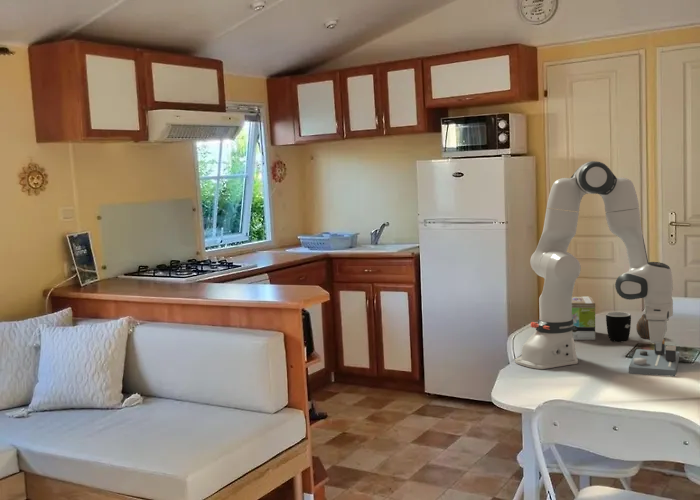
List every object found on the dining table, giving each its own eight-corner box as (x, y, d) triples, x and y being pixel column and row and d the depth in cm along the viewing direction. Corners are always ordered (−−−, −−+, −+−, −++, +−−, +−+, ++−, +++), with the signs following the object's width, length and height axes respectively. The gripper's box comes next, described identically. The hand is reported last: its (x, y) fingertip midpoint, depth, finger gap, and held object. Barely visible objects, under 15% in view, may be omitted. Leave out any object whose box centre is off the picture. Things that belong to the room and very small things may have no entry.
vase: (658, 338, 290) (658, 316, 289) (640, 339, 290) (640, 316, 289) (651, 334, 297) (651, 312, 296) (633, 335, 297) (633, 313, 296)
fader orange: (664, 354, 259) (664, 341, 258) (654, 353, 260) (654, 340, 260) (664, 352, 261) (664, 339, 261) (655, 351, 263) (655, 339, 262)
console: (675, 376, 241) (675, 365, 241) (628, 373, 248) (628, 362, 247) (679, 357, 263) (679, 347, 262) (636, 354, 269) (636, 345, 269)
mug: (626, 343, 284) (626, 317, 283) (603, 341, 290) (602, 315, 289) (636, 337, 294) (636, 311, 293) (613, 334, 299) (613, 309, 298)
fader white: (675, 361, 250) (675, 347, 249) (665, 360, 251) (665, 347, 251) (675, 359, 252) (675, 345, 252) (666, 358, 254) (666, 345, 253)
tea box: (596, 340, 292) (595, 302, 291) (569, 340, 294) (568, 302, 293) (591, 331, 307) (591, 295, 305) (566, 331, 309) (565, 295, 307)
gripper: (651, 304, 267) (652, 342, 269) (645, 315, 249) (645, 356, 251) (671, 304, 264) (671, 343, 266) (666, 316, 246) (666, 358, 248)
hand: (659, 350), depth 258 cm, fingers closed
